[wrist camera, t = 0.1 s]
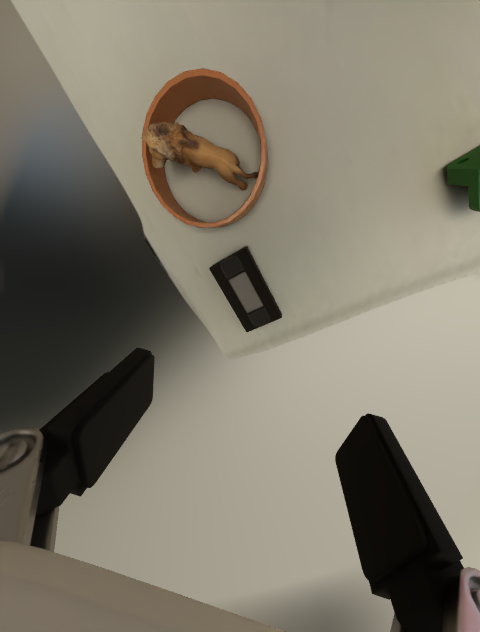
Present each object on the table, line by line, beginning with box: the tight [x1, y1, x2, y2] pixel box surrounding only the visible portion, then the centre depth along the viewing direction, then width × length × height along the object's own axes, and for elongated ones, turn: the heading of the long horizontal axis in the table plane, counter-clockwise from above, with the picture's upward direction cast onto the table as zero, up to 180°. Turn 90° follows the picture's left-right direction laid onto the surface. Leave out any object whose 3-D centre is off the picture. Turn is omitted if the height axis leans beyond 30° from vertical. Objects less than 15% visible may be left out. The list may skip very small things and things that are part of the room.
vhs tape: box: [209, 246, 282, 332], centre depth 39 cm, size 8×14×2 cm, turn 29°
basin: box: [142, 69, 267, 228], centre depth 30 cm, size 17×17×5 cm
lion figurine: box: [142, 122, 259, 190], centre depth 28 cm, size 15×5×9 cm, turn 79°
